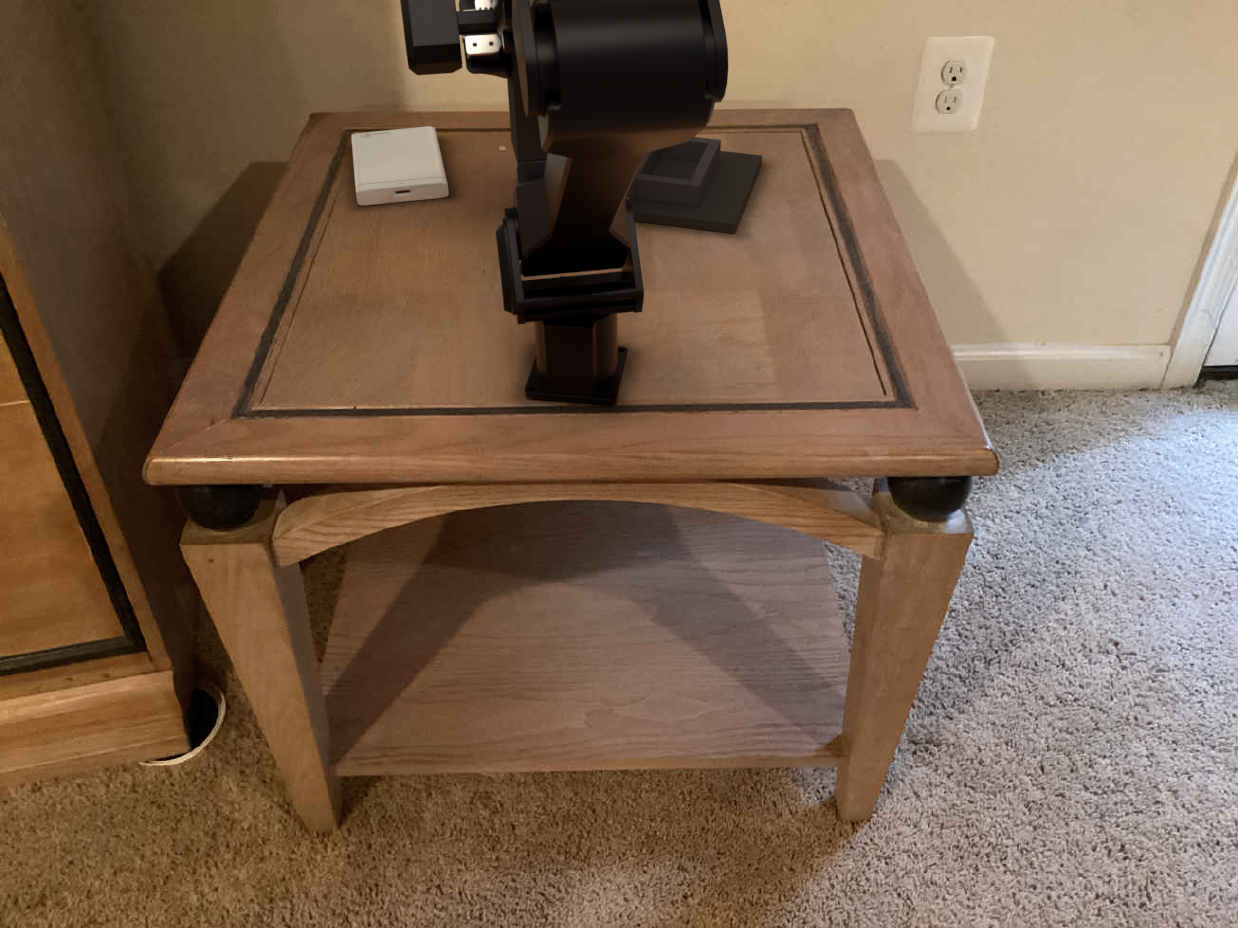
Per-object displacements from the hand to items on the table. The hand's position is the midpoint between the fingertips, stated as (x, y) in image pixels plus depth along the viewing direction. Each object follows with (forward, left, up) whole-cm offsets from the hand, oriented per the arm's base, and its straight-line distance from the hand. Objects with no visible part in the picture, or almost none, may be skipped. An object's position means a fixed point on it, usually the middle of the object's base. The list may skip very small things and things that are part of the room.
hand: (526, 71), depth 87 cm
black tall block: (-1, 0, -7) cm, 7 cm away
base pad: (+6, -12, -12) cm, 18 cm away
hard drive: (+6, +14, -12) cm, 20 cm away
